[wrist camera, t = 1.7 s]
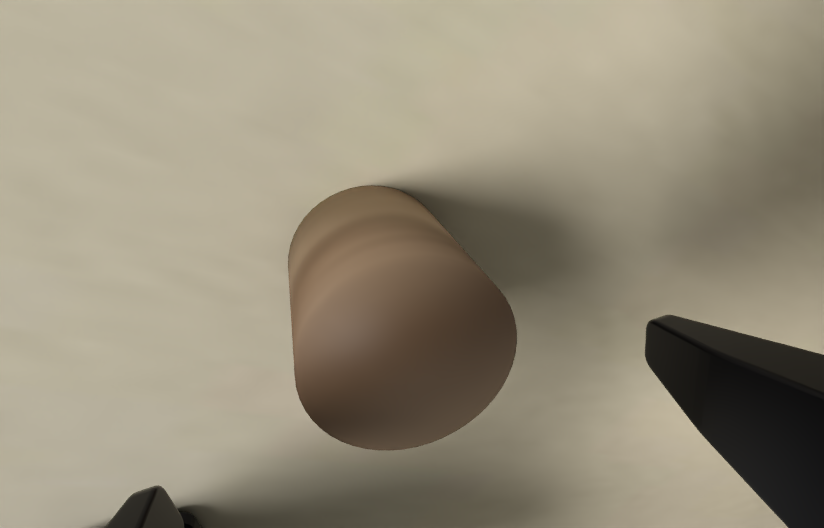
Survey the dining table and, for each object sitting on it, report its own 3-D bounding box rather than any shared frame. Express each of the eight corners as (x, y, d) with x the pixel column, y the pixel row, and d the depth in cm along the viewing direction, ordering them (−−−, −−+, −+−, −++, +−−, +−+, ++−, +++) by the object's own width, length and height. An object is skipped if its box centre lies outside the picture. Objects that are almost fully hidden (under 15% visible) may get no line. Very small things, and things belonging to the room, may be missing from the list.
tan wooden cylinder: (453, 304, 15) (524, 410, 11) (313, 347, 15) (330, 477, 10) (430, 167, 13) (506, 230, 9) (265, 210, 13) (261, 300, 8)
